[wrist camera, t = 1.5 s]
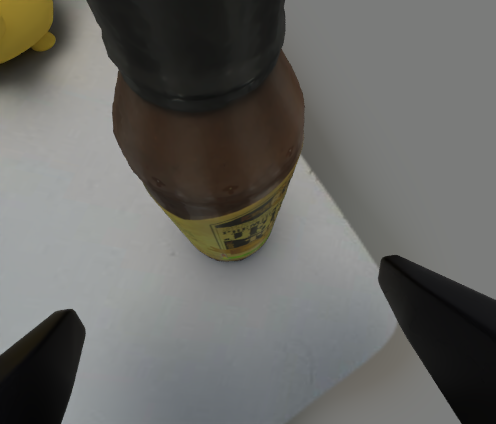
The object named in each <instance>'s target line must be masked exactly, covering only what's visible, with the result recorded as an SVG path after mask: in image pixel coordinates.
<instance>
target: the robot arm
mask: <svg viewBox="0 0 496 424" xmlns="http://www.w3.org/2000/svg"><path fill="white" fill-rule="evenodd" d="M378 281H379V285H380V287H381V289H382V291H383V293H384V295H385V297H386V299H387V301H388V303H389V305H390V307H391V309H392V311H393V313H394V315H395V317H396V319H397V321H398V323H399V325H400V327H401V328H402V330H403V332H404V334H405V335H406V337H407V339H408V340H409V342H410V344H411V345H412V347H413V348H414V350H415V351H416V353H417V355H418V356H419V358H420V359H421V361H422V362H423V364H424V365H425V367H426V369H427V370H428V372H429V373H430V375H431V376H432V378H433V380H434V381H435V383H436V384H437V386H438V387H439V389H440V391H441V392H442V394H443V395H444V397H445V398H446V400H447V402H448V403H449V404H450V406H451V408H452V409H453V411H454V413H455V414H456V416H457V417H458V419H459V420H460V422H461V423H462V424H496V300H494V299H492V298H490V297H488V296H486V295H484V294H481V293H479V292H477V291H475V290H472V289H470V288H468V287H466V286H464V285H462V284H459V283H457V282H455V281H453V280H451V279H449V278H446V277H444V276H442V275H440V274H438V273H435V272H433V271H431V270H429V269H426V268H424V267H422V266H420V265H418V264H416V263H414V262H411V261H409V260H407V259H405V258H402V257H400V256H398V255H391V256H385V257H383V258H382V259H381V263H380V269H379V276H378ZM85 334H86V332H85V327H84V325H83V324H82V322H81V320H80V319H79V317H78V315H77V314H76V312H75V311H74V310H73V309H65V310H59V311H56V312H54V313H53V314H52V315H50V316H49V317H48V318H47V319H45V320H44V321H43V322H42V323H40V324H39V325H38V326H37V327H35V328H34V329H33V330H32V331H30V332H29V333H28V334H27V335H25V336H24V337H23V338H21V339H20V340H19V341H18V342H16V343H15V344H14V345H13V346H11V347H10V348H9V349H8V350H6V351H5V352H4V353H3V354H1V355H0V424H61V422H62V420H63V417H64V414H65V411H66V408H67V405H68V402H69V399H70V396H71V393H72V389H73V385H74V382H75V377H76V373H77V369H78V365H79V361H80V356H81V352H82V348H83V344H84V340H85Z"/></svg>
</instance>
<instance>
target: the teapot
mask: <svg viewBox="0 0 496 424" xmlns="http://www.w3.org/2000/svg"><path fill="white" fill-rule="evenodd" d="M52 22H53V0H0V64H1V63H4V62H6V61H8V60H10V59H12V58H14V57H16V56H18V55H20V54H21V53H23V52H24V51H26V50H27V49H29V48H30V47H31V48H32V49H33V50H35V51H46V50H48V49H50V48H51V47H52V46H53V45H54V44H55V40H56V39H55V36H54V35H53V34H52V33H50V32H49V31H48V30H49V29H50V27H51V25H52Z"/></svg>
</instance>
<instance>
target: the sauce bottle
mask: <svg viewBox="0 0 496 424" xmlns="http://www.w3.org/2000/svg"><path fill="white" fill-rule="evenodd" d="M87 2H88V4H89V6H90V8H91V10H92V12H93V14H94V16H95V19H96V21H97V23H98V24H99V26H100V27H101V30H102V39H103V42H104V45H105V47H106V50H107V54H108V57H109V58H110V59H111V60H112V62H113V63H114V64H115V65H116V66H117V67H118V69H119V71H118V78H117V83H116V87H115V95H114V102H113V108H112V116H113V132H114V135H115V137H116V140H117V142H118V145H119V146H120V148H121V150H122V153H123V155H124V156H125V158H126V160H127V161H128V164H129V166H130V167H131V169H132V170H133V172H134V173H135V174H136V175H137V176H138V177H139V179H140V180H141V181H142V182H143V184H144V186H145V188H146V189H147V191H148V193H149V194H150V196H151V197H152V198H153V199H154V200H155V202H156V203H157V204H158V205H159V206H160V207H161V208H162V210H163V211H164V212H165V213H166V214H167V215H168V216H169V218H170V219H171V220H172V221H173V222H174V223H175V225H176V226H177V227H178V228H179V229H180V230H181V232H182V233H183V234H184V235H185V236H186V237H187V238H188V239H189V240H190V242H191V243H192V244H193V245H194V246H195V247H196V248H197V249H198V250H199V251H201V252H202V253H204V254H205V255H207V256H208V257H210V258H213V259H215V260H217V261H225V262H229V261H239V260H242V259H245V258H246V257H248V256H250V255H251V254H253V253H254V252H256V251H257V250H259V249H260V248H261V247H262V246H263V244H264V243H265V242H266V240H267V239H268V237H269V235H270V233H271V230H272V227H273V225H274V222H275V219H276V217H277V214H278V211H279V210H280V207H281V204H282V201H283V199H284V197H285V194H286V191H287V188H288V185H289V182H290V180H291V178H292V176H293V173H294V170H295V167H296V164H297V162H298V159H299V156H300V153H301V150H302V147H303V140H304V133H303V127H304V107H305V106H304V98H303V93H302V91H301V88H300V85H299V82H298V80H297V77H296V75H295V73H294V71H293V69H292V66H291V64H290V63H289V61H288V60H287V58H286V56H285V54H284V53H283V51H282V49H281V48H282V46H283V43H284V36H285V11H284V3H285V0H87Z"/></svg>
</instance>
